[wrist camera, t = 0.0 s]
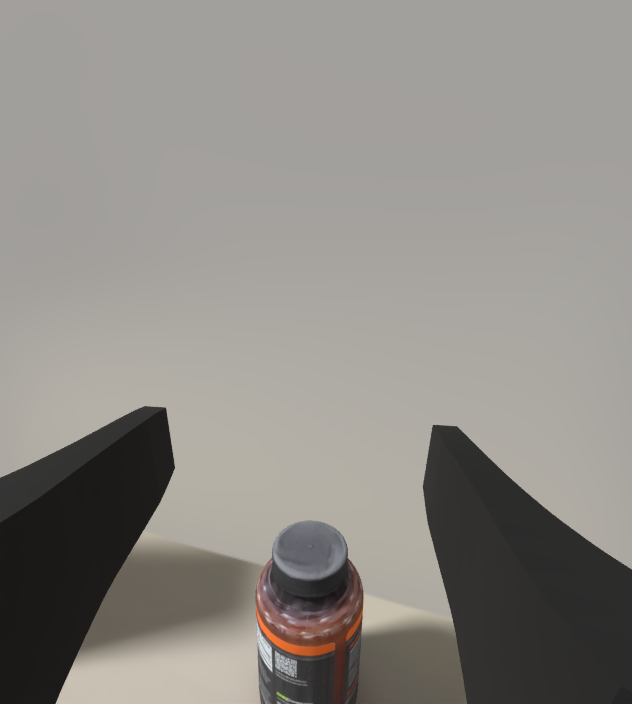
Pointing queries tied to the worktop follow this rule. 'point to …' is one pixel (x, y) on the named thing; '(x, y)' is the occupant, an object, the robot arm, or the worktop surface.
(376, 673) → the worktop surface
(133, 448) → the robot arm
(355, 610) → the supplement bottle
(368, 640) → the worktop surface
